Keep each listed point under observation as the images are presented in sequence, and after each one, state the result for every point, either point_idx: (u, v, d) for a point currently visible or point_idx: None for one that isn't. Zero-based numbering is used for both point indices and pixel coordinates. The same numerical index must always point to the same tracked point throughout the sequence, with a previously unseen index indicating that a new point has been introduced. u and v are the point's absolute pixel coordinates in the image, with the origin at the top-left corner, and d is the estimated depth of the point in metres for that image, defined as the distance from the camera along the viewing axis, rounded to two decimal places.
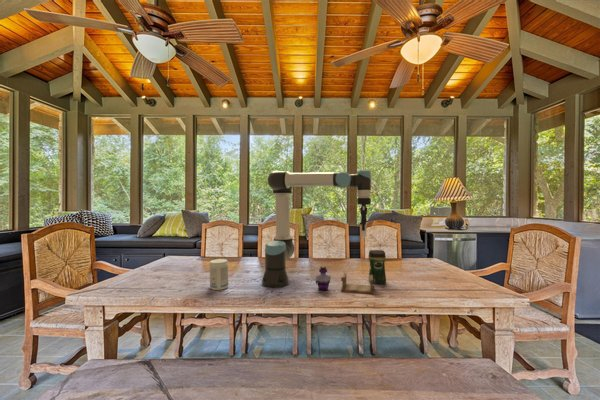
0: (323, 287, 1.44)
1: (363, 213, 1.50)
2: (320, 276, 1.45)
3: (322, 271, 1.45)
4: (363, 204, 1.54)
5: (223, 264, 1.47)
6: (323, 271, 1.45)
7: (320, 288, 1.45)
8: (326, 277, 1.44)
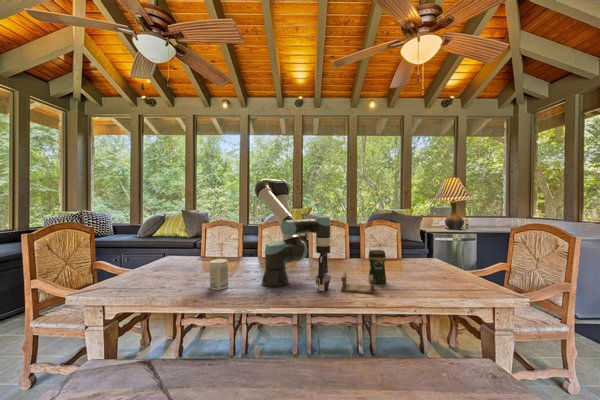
0: None
1: (320, 266, 1.41)
2: None
3: None
4: (321, 253, 1.44)
5: (223, 264, 1.47)
6: None
7: None
8: (326, 277, 1.44)
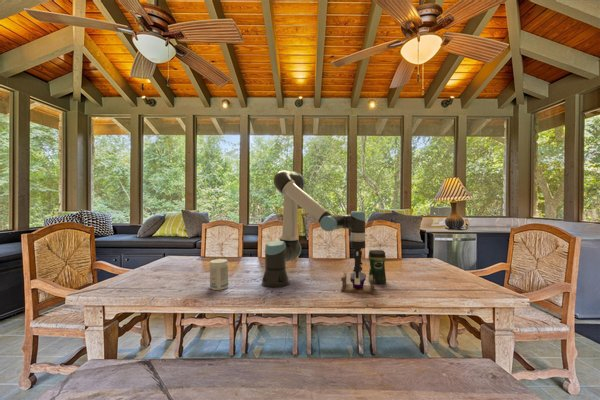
0: (358, 285, 1.44)
1: (357, 260, 1.39)
2: None
3: None
4: (357, 248, 1.43)
5: (223, 264, 1.47)
6: None
7: (355, 286, 1.45)
8: (362, 275, 1.44)
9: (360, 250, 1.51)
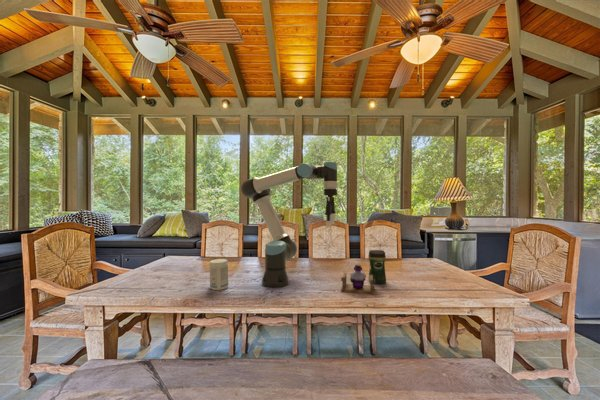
0: (358, 285, 1.44)
1: (328, 204, 1.52)
2: (355, 274, 1.45)
3: (357, 269, 1.45)
4: (329, 195, 1.56)
5: (223, 264, 1.47)
6: (358, 269, 1.45)
7: (355, 286, 1.45)
8: (361, 275, 1.44)
9: (333, 199, 1.64)
